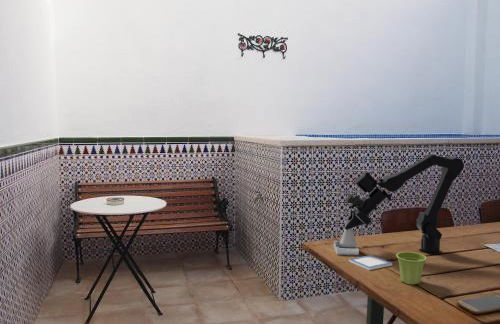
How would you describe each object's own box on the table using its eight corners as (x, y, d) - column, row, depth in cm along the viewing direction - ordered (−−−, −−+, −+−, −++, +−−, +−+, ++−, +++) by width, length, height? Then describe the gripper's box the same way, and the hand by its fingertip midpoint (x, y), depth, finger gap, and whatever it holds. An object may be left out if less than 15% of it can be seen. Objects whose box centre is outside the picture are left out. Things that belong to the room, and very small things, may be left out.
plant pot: (425, 278, 158) (426, 253, 157) (426, 288, 149) (426, 261, 148) (396, 275, 161) (396, 250, 160) (395, 285, 152) (395, 259, 151)
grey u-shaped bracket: (354, 246, 195) (354, 240, 194) (358, 255, 184) (358, 247, 183) (333, 246, 195) (333, 239, 195) (336, 254, 184) (337, 247, 184)
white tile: (392, 265, 171) (392, 262, 171) (368, 270, 166) (369, 267, 166) (371, 257, 181) (371, 254, 181) (348, 261, 176) (348, 259, 176)
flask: (359, 247, 185) (359, 223, 184) (340, 247, 186) (340, 223, 185) (355, 242, 193) (355, 218, 192) (337, 242, 193) (337, 219, 192)
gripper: (354, 183, 196) (328, 209, 197) (362, 190, 177) (333, 219, 179) (373, 201, 196) (347, 227, 198) (383, 211, 177) (353, 239, 179)
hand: (344, 228), depth 188 cm, fingers closed on flask, 3 cm apart
